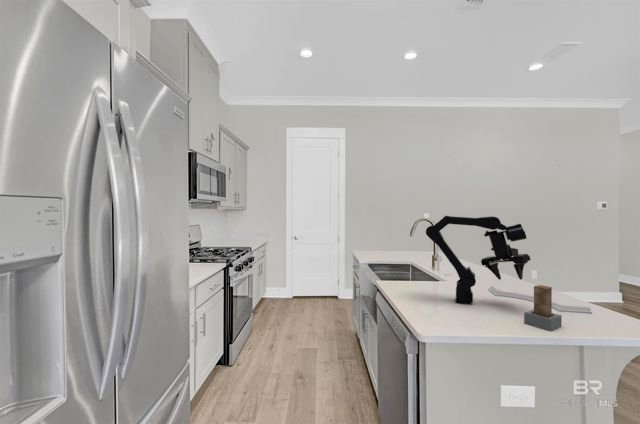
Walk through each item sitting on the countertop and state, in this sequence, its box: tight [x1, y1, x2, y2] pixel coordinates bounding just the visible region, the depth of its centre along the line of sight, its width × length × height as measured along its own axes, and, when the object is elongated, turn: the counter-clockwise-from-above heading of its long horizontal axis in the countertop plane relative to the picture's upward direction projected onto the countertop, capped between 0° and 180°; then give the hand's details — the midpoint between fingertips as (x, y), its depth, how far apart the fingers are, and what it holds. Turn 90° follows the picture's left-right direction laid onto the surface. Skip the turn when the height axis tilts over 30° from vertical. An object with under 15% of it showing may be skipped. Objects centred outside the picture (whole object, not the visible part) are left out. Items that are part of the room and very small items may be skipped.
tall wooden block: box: [533, 284, 553, 318], centre depth 108 cm, size 4×4×13 cm
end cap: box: [523, 308, 563, 332], centre depth 108 cm, size 8×8×4 cm
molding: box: [488, 285, 593, 315], centre depth 137 cm, size 42×12×3 cm, turn 30°
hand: (510, 279), depth 128 cm, fingers open, 9 cm apart
